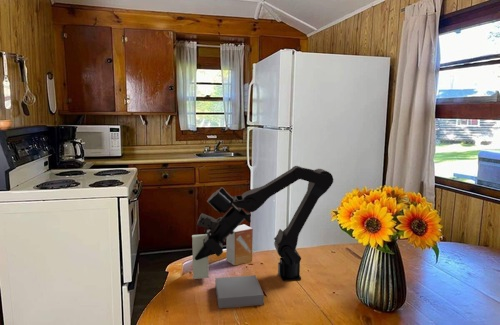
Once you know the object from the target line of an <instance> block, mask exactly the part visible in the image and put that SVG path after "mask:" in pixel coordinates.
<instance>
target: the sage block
mask: <svg viewBox="0 0 500 325" xmlns="http://www.w3.org/2000/svg"><path fill="white" fill-rule="evenodd" d="M206 237H207V234H204V233H203V234H202V233H201V234H192V235H191V239H192V240H191V241H192V242H191V243H192V275H193V276H192V279H193V280H195V279H196V280H198V279H209V278H210V277H209V276H210V271H209V256H208V257H205V258H202V259H199V260H196V259H195V257H196V255H197V254H198V252H199V251H200V249H201V248H202V247H203V245H204V244H203V240H204V239H206Z"/></svg>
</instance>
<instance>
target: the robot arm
mask: <svg viewBox="0 0 500 325" xmlns="http://www.w3.org/2000/svg"><path fill="white" fill-rule="evenodd" d="M299 180H301V181H306V182H308V183H307V190H306V193H305V194H304V196H303V198H302V200H301V202H300V203H299V206H298V207H297V209H296V210H295V213H293V216H292V218H291V220H290V221H289V223H288V226H287V227H286V228H284V229H283V230H282V229H281V228H279V230H278V231H277V234H276V235H275V237H274V238H273V240H274V244H273V245H274V248H275V251H276V253H277V254H278V256H279V262H278V263H277V274H278V276H279V277H280V279H281V280H282V281H283V282H285V281H286V282H287V281H289V282H290V281H299V280H302V277H301V273H300V272H301V271H300V270H301V269H300V268H301V260H302V257H301V255H300V254H299V252H298V251H297V249H296V248H297V246H298V241H299V236H300V233H301V232H302V230H303V228H304V226H305V225H306V223H307V221H308V219H309V217H310V215H311V214H312V211H313V209H314V207H315V206H316V204H317V202H318V200H319V199H320V198H321V197H322V196H323V195H325V193H327V192H328V191H329V189H330V188H331V186H332V185H333V183H334V178H333V174H332V173H331V172H330V171H328V170H325V169H323V168H316V169H311V168H307V167H302V166H299V165H294V166H292V168H290V169H289V170H287V171H285V172H284V173H282V174H280V175H279V176H277V177H275V178H274V179H273V180H272V179H271V181H269V182H267V183H266V184H264V185H262V186H258V187H255V188H253V189H250V190H247V191H245V192H243V193H242V194H239V195H234V196H232V195H231V194H230V193H229V192H227V191H226V189H225V188H224V187H222V186H221V187H220V188H219V189H217V190H216V191H215V192H213V193H212V194H211V195H210V196H209V197H208V198H207V200H206V202H207V203H208V204H209V205H210V206H211V207H212V208H213V209H214V210H215V211H216V212H217V213H218V214H221V213H222V214H224V215H223V216H220V217H218V218H217V219H216V218H214V217H213V216H210V215H207V214H205V213H202V212H201V214H200V215H199V217H198V220H197V223H196V226H198V227H200V228H201V227H202V228H204V232H203V234H207V237H206V239H204V240H203V244H204V245H203V247H202V248H201V249H200V251H199V252H198V254H197V255H196V257H195V259H196V260H199V259H202V258H205V257H208V258H209V257H211V256H214V255H216V256H217V257H220V256H221V255H222V254H223V253H224V246H223V244H224V243H225V242H226V240H227V237H228V236H229V235H230V234H231V235H232V234H233V233H234V232H233V230H234V229H235V228H236V227H237V226H238V225H241V224H242V222H244V221H246V222H247V223H249V224H251V222H252V221H251V217H252V213H254V212H255V211H257V210H258V209H260V208H261V207H262V206H263V205H264V204H265V203H266V202H267V201H268V199H270V198H271V197H272V196H274V195H275V194H277V193H278V192H281V191H282V190H284V189H285V188H287V187H289V186H291V185H292V184H293V183H295V182H297V181H299Z"/></svg>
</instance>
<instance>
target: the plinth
mask: <svg viewBox="0 0 500 325" xmlns="http://www.w3.org/2000/svg"><path fill="white" fill-rule="evenodd" d="M214 281H215V285H214V286H215V291H216V292H215V293H216V299H217V304H218V305H217V306H218V309H228V308H229V309H230V308H238V307H239V308H240V307H242V308H243V307H249V306H250V307H252V306H262V305H264V303H265V302H264V301H265V298H264V297H265V296H264V295H265V294H264V292H263V290H262V288H261V284H260V283H259V281H258V279H257V276H256V274H254V275H240V276H239V275H238V276H226V277H225V276H224V277H216V278H215V280H214Z"/></svg>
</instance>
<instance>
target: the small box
mask: <svg viewBox="0 0 500 325" xmlns="http://www.w3.org/2000/svg"><path fill="white" fill-rule="evenodd" d="M253 231H254V228H253V227H251V226H248V225H247V224H239V225H238V226H237V227H236V228H235V229H234V230H233V232H234V233H233V234H232V235H231V234H230V235H229V236H228V237H227V238H226V248H225V249H226V252H225V253H226V257H225V258H226V261H227V262H228V263H229V264H231V265H233V266H238V265H243V264H246V263H251V262H253V249H254V248H253V244H254V242H253V241H254V240H253V238H254V234H253V233H254V232H253Z"/></svg>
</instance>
